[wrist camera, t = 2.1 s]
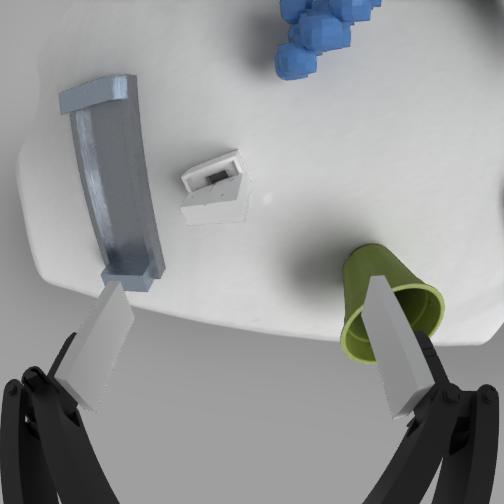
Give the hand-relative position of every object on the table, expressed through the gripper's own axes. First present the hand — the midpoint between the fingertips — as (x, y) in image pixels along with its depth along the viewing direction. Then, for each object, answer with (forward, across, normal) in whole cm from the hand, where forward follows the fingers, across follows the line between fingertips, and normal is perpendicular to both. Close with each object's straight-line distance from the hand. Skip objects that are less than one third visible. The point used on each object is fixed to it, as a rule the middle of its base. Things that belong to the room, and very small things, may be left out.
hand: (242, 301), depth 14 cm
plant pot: (+18, +14, -11) cm, 25 cm away
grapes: (+18, +6, +16) cm, 25 cm away
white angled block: (+18, -3, +2) cm, 18 cm away
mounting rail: (+18, -15, +2) cm, 24 cm away
